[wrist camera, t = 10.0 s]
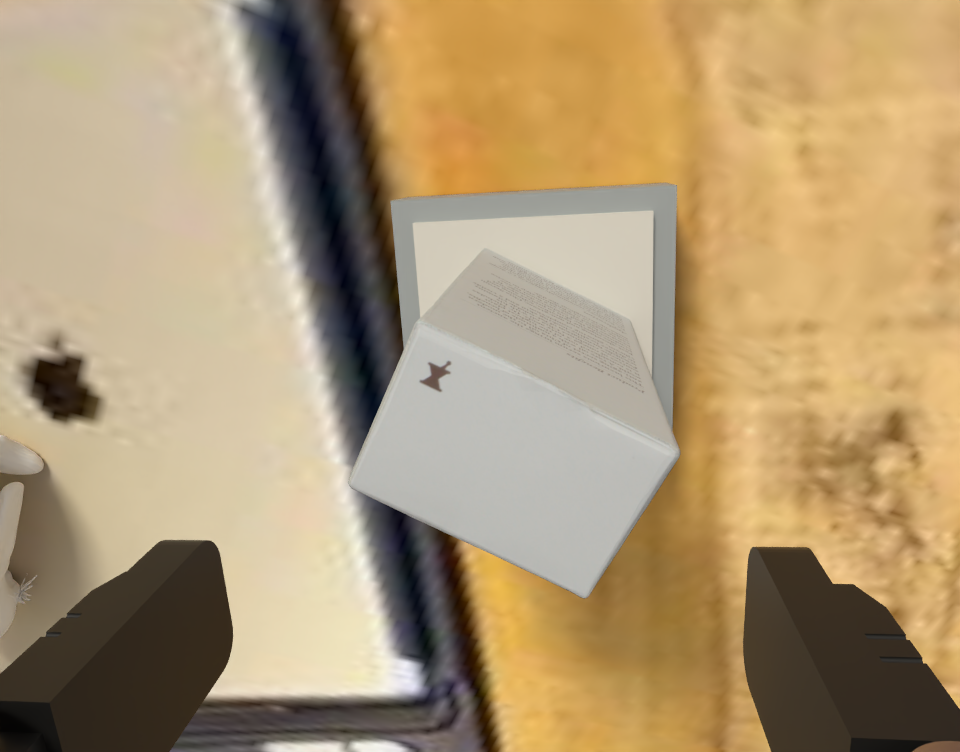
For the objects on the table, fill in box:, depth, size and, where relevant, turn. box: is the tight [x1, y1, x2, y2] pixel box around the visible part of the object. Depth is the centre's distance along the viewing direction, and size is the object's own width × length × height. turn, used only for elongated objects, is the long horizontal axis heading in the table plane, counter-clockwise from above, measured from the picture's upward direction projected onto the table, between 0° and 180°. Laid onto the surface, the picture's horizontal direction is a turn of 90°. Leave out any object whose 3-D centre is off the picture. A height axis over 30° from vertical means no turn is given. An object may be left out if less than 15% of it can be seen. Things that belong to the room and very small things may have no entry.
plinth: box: [391, 183, 677, 429], centre depth 28 cm, size 10×10×3 cm
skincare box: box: [348, 248, 680, 598], centre depth 20 cm, size 6×4×12 cm
